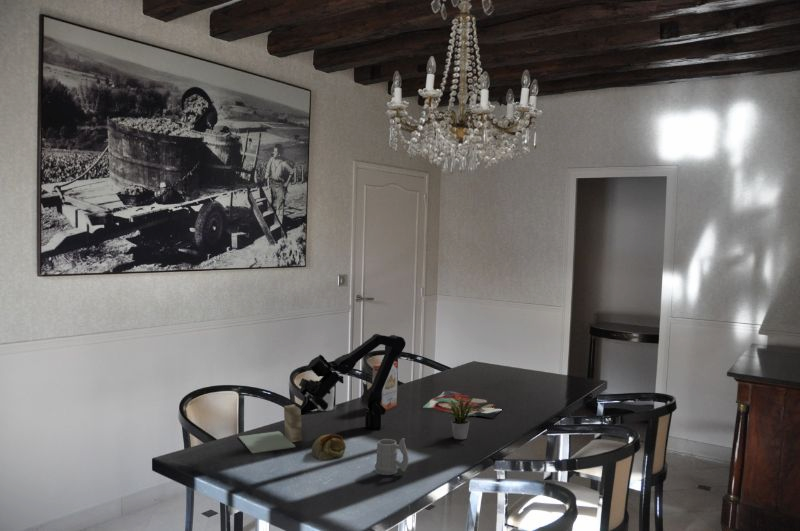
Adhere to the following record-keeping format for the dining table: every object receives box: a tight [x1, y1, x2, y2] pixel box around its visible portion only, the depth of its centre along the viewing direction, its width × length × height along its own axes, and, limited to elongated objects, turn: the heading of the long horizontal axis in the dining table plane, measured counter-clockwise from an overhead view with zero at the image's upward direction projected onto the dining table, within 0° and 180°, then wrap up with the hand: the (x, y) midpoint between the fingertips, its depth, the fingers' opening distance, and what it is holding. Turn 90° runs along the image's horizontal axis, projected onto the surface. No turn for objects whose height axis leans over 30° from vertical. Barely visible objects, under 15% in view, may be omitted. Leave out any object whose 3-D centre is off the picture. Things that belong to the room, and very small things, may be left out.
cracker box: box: [371, 361, 399, 411], centre depth 284 cm, size 14×6×21 cm, turn 151°
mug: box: [374, 437, 409, 476], centre depth 204 cm, size 8×12×12 cm, turn 63°
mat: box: [238, 430, 296, 454], centre depth 233 cm, size 16×20×1 cm
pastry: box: [311, 433, 347, 462], centre depth 221 cm, size 14×12×8 cm
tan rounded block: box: [283, 404, 303, 443], centre depth 238 cm, size 4×8×12 cm, turn 28°
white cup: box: [317, 385, 336, 412], centre depth 281 cm, size 8×8×10 cm
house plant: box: [445, 396, 477, 440], centre depth 243 cm, size 14×14×16 cm
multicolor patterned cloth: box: [423, 390, 503, 419], centre depth 292 cm, size 35×35×2 cm
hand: (298, 415), depth 239 cm, fingers closed
